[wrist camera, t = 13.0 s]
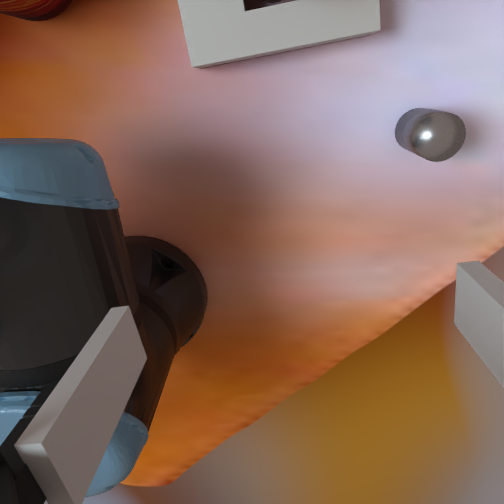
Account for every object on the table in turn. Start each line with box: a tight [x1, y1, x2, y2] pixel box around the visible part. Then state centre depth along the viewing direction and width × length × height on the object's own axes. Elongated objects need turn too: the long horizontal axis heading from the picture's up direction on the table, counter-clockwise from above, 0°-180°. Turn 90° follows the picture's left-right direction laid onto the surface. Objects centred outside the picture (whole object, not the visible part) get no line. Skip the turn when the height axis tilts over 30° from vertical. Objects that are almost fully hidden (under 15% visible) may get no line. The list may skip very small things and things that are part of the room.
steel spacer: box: [395, 108, 465, 162], centre depth 35 cm, size 4×4×6 cm
